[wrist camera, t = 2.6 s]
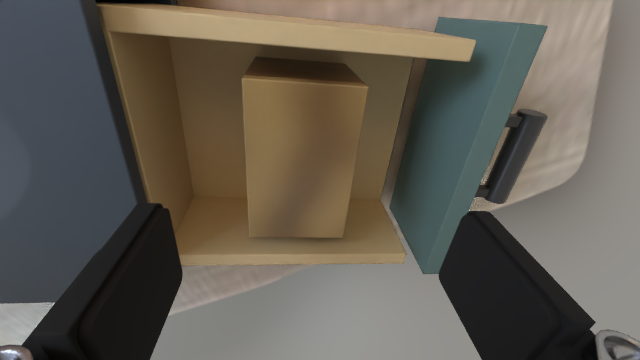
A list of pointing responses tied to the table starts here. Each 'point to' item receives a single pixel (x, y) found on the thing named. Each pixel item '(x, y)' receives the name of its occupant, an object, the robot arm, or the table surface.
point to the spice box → (300, 145)
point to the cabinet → (59, 146)
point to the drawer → (376, 136)
